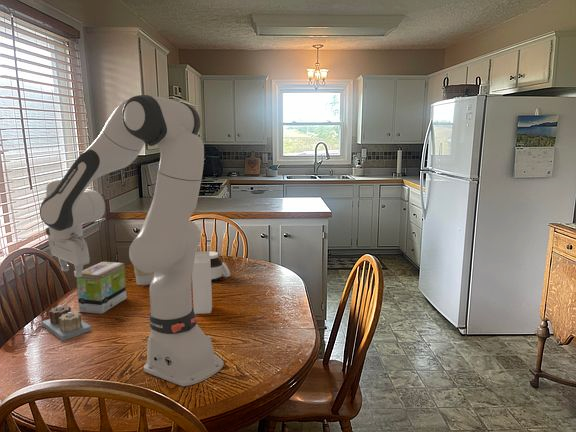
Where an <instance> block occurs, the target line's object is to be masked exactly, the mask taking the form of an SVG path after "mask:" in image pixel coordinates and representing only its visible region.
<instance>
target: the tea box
mask: <svg viewBox="0 0 576 432" xmlns="http://www.w3.org/2000/svg"><path fill="white" fill-rule="evenodd" d="M125 267H126V266H125V263H124V262H113V261H101V262H99V263H96V264H93V265H91V266H89V267H87V268H84V269H83V270H82V277H79V278H77V277H76V287H77V302H78V312H79V313H89V314H99V315H103V314H105V313H106V312H107V311H108V310H110V309H112V308H113V307H115V306H117V305H119V303H121V302H124V301H125V300H127V285H126V270H125V269H126V268H125Z"/></svg>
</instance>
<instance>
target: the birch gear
mask: <svg viewBox="0 0 576 432" xmlns="http://www.w3.org/2000/svg"><path fill="white" fill-rule="evenodd" d="M72 314H73V317H70V318H68V314H63V315H61V317H59V323H60V330H62V332H65V331H70V332H71V331H73V330H76V329H80V326H82V321H83V320H82V314H81V313H80V311H75V312H72ZM81 320H82V321H81Z"/></svg>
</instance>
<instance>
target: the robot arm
mask: <svg viewBox="0 0 576 432" xmlns="http://www.w3.org/2000/svg"><path fill="white" fill-rule="evenodd" d="M200 128H201V118H200V115H199V113H198V111H197V110H196V109H195V108H194V106H191V105H190V104H187V103H185V102H182V101H177V100H173V99H171V98H168V97H165V96H164V97H163V96H152V95H148V94H139V95H135V96H132V97H129V98H128V99H125V100H123V101H122V102H120V104H119V105H118V106H117V107H116V108H115V109H114V111H113V112H112V114H111V115H110V116H109V117H108V119H107V121H106V122H105V125H104V127H103V128H102V130H101V131H100V133H99V135H98V136H97V137H96V138H95V140H94V141H93V142H92V143H91V144H90V145H89V146H88V147H87V148H86V150H85V151H83V152H82V153H81V154H80V155H79V156H78V157H77V159H76V160H75V161H74V162H73V164H71V166H70V168H69V169H68V171H67V172H66V173H65V175H64V176H63V178H60V179H55V180H51V181H49V182H48V183H47V185H46V188H45V189H46V191H45V195H46V196H45V197H44V199H43V200H42V202H41V204H40V208H39V215H40V218H41V221H42V222H43V223H44V224H45V225H46V226H47V227H46V228H45V235H47V236H48V237H47V241H48V246H49V250H50V253H51V255H52V256H53V257H56V258H57V259H58V263H59V264H60V268H61V271H62V272H65V273H66V272H68V271H70V266H69V264H68V263H70V264H73V267H74V271H73V275H74V277H75V278H76V279H77V278H79V277H82V270H84V266H86V265H88V264H90V261H91V260H90V259H91V258H90V253H89V248H88V243H87V241H86V239H84V238H82V236H83V235H84V232H83V231H84V230H83V225H85V224H88V223H91V222H95V221H98V220H100V219H102V218H103V217H104V215H105V214H106V211H107V203H106V199H105V198H104V195H102V194H101V193H100V192H99V191H98V190H94V189H90V188H89V185H90V184H92V183H93V182H94V181H95V180H97V179H98V178H100V177H102V176H105V175H107V174H109V173H113V172H117V171H118V170H122V169H126V168H127V167H129V166H130V165H132V163H133V162H134V161H135V160H136V159H137V158H138V156H139V155H140V153H141V151H142V149H143V148H144V145H145V144H146V145H147V146H149V147H154V146H157V147H158V149H159V151H160V152H159V153H160V159H159V164H158V169H157V176H156V182H155V187H154V193H153V198H152V201H151V203H150V207H149V209H148V212H147V214H146V215H145V216H146V217H145V218H144V221H143V224H142V226H141V228H140V231H139V232H138V233H137V235H136V237H135V238H134V239H133V240H132V242H131V243H130V246H129V250H128V255H129V256H128V257H129V260H130V262H131V264H132V265H133V267H134V266H135V267H136V268H137V269H138V270H140V271H141V272H144V273H153V272H154V277H153V279H152V281H151V283H150V284H149V288H148V289H149V304H150V306H149V307H150V312H149V318H148V320H149V321H148V322H149V328H150V333H149V336H148V338H147V343H146V344H147V345H146V346H147V347H146V348H147V349H146V363H145V364H144V365H143V372H145V373H147V374H149V375H152V376H155V377H157V378H161V379H162V380H166V381H168V382H170V383H173V384H175V385H178V386H181V387H187V386H192V385H195V384H198V383H200V382H203V381H205V380H207V379H208V378H210V377H212V376H215V374H217V373H218V372H220V370H222V369H223V367H224V365H225V364H224V360H223V359H222V358H220V357H219V356H218V355H216V354H215V349H214V345H213V343H212V342H213V341H212V337H211V336H210V335H206V334H205V333H204V331H203V330H202V328H201V327H200V326H199V325H198V321H199V316H196V314H195V312H194V307H193V302H192V300H193V297H192V272H193V266H194V260H195V254H196V252H197V249H198V247H199V245H200V242H201V231H200V229H199V226H198V225H197V224H196V223H194V221H192V220H190V218H191V217H192V215H193V214H194V211H195V210H196V208H197V205H198V199H199V195H200V189H201V185H202V184H201V182H202V178H203V174H204V173H203V171H204V164H205V162H204V161H205V144H204V142H203V140H202V139H201V138H200V137H199V136H198V133H199V131H200Z"/></svg>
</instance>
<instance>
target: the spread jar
mask: <svg viewBox="0 0 576 432" xmlns="http://www.w3.org/2000/svg"><path fill="white" fill-rule="evenodd" d="M209 256H210V263H211V283H212V282H214V283H215V282H218V281H219V280H220V279H221V278H222V277H223V276H224V277H225V278H229V277H231V272H230V269H229V267H228V266H227V264H226V263H225V262H223V261H222V260H221V258H220V257H219V252H217V251H209Z"/></svg>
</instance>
